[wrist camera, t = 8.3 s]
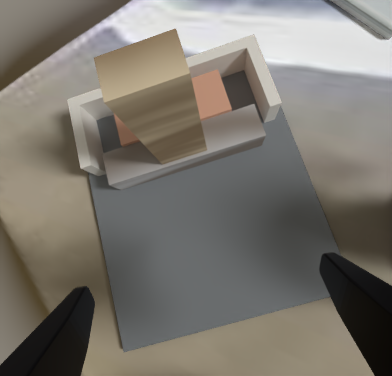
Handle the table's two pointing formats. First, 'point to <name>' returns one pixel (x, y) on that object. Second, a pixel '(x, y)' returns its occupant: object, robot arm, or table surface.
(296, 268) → the board
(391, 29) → the hard drive
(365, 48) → the table surface
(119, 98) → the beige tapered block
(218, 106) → the chip
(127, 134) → the pink square block
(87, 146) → the tray
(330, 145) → the table surface
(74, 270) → the table surface
